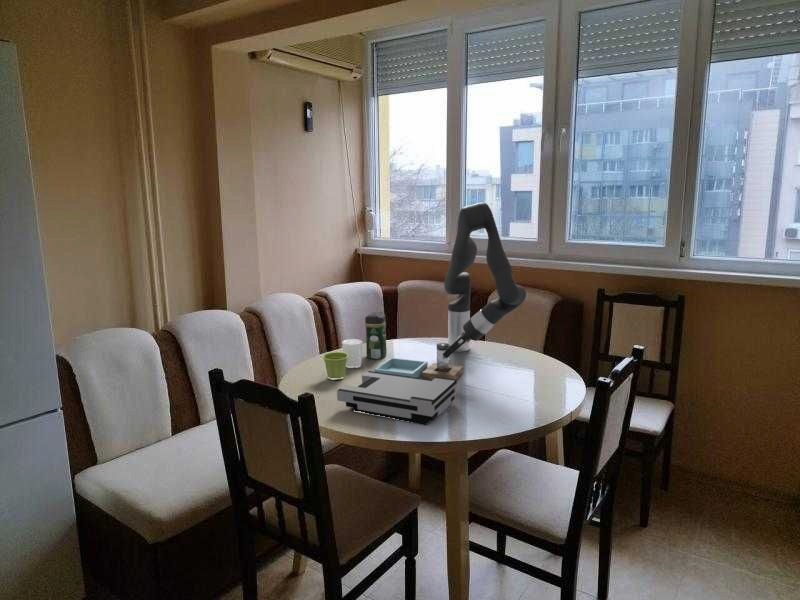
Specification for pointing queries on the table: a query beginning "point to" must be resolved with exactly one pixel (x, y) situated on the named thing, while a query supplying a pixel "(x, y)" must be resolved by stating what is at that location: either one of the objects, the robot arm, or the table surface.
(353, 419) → the table surface
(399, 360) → the parts tray
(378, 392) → the game console
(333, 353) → the plant pot
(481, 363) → the table surface
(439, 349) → the bottle with dark cap
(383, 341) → the coffee jar
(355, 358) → the white cup
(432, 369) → the brown square frame
